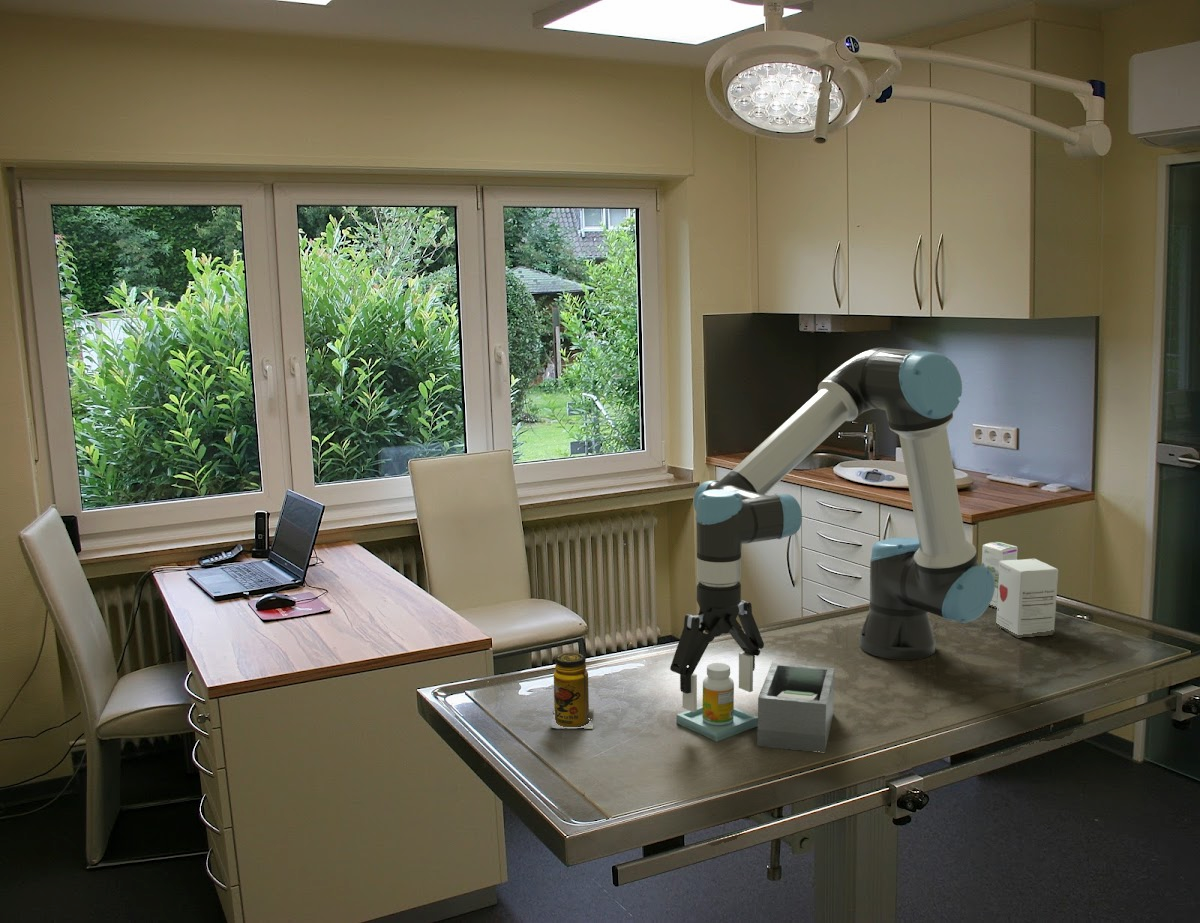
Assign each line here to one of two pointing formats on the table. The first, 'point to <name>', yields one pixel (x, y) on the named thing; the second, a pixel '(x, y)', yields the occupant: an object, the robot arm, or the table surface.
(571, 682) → the condiment
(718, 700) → the supplement bottle
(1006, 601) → the supplement box
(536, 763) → the table surface
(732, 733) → the tray
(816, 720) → the guard box
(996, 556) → the syrup box
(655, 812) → the table surface
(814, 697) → the block
